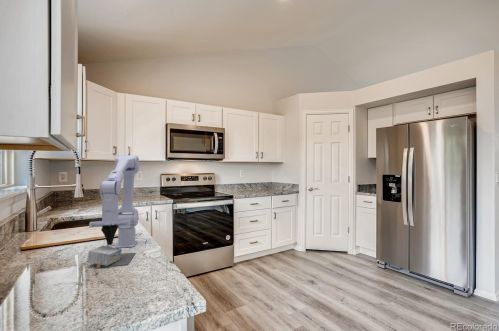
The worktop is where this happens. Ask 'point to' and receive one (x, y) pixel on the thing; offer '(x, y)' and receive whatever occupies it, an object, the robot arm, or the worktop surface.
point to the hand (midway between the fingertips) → (110, 244)
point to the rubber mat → (122, 260)
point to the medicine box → (104, 255)
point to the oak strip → (99, 266)
